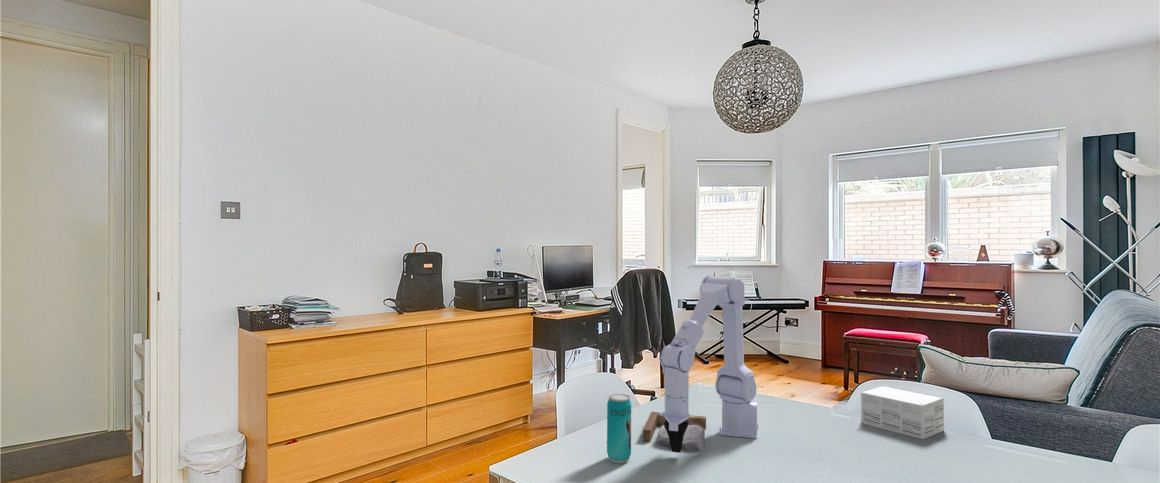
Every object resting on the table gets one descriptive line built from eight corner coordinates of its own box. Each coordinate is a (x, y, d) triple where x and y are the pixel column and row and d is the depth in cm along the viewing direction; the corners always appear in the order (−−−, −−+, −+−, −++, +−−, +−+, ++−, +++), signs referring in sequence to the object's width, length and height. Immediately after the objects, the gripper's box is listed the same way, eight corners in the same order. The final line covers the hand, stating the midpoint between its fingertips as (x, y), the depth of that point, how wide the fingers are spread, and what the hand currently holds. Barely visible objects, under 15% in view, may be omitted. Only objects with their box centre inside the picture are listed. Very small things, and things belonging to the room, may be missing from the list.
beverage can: (629, 465, 126) (630, 400, 126) (605, 463, 127) (605, 399, 127) (632, 456, 131) (632, 394, 132) (608, 454, 133) (609, 392, 133)
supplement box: (944, 431, 152) (944, 397, 152) (923, 440, 144) (923, 405, 144) (882, 415, 165) (882, 384, 166) (860, 423, 158) (860, 391, 158)
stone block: (702, 459, 134) (706, 438, 144) (701, 442, 134) (705, 421, 143) (654, 455, 138) (661, 434, 148) (653, 438, 138) (660, 418, 147)
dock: (706, 427, 153) (706, 416, 153) (703, 447, 138) (703, 435, 138) (651, 422, 157) (651, 411, 157) (642, 440, 142) (642, 429, 142)
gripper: (663, 386, 139) (663, 439, 139) (656, 402, 125) (655, 460, 125) (691, 388, 137) (691, 442, 137) (687, 404, 123) (686, 464, 123)
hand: (676, 451), depth 131 cm, fingers closed
